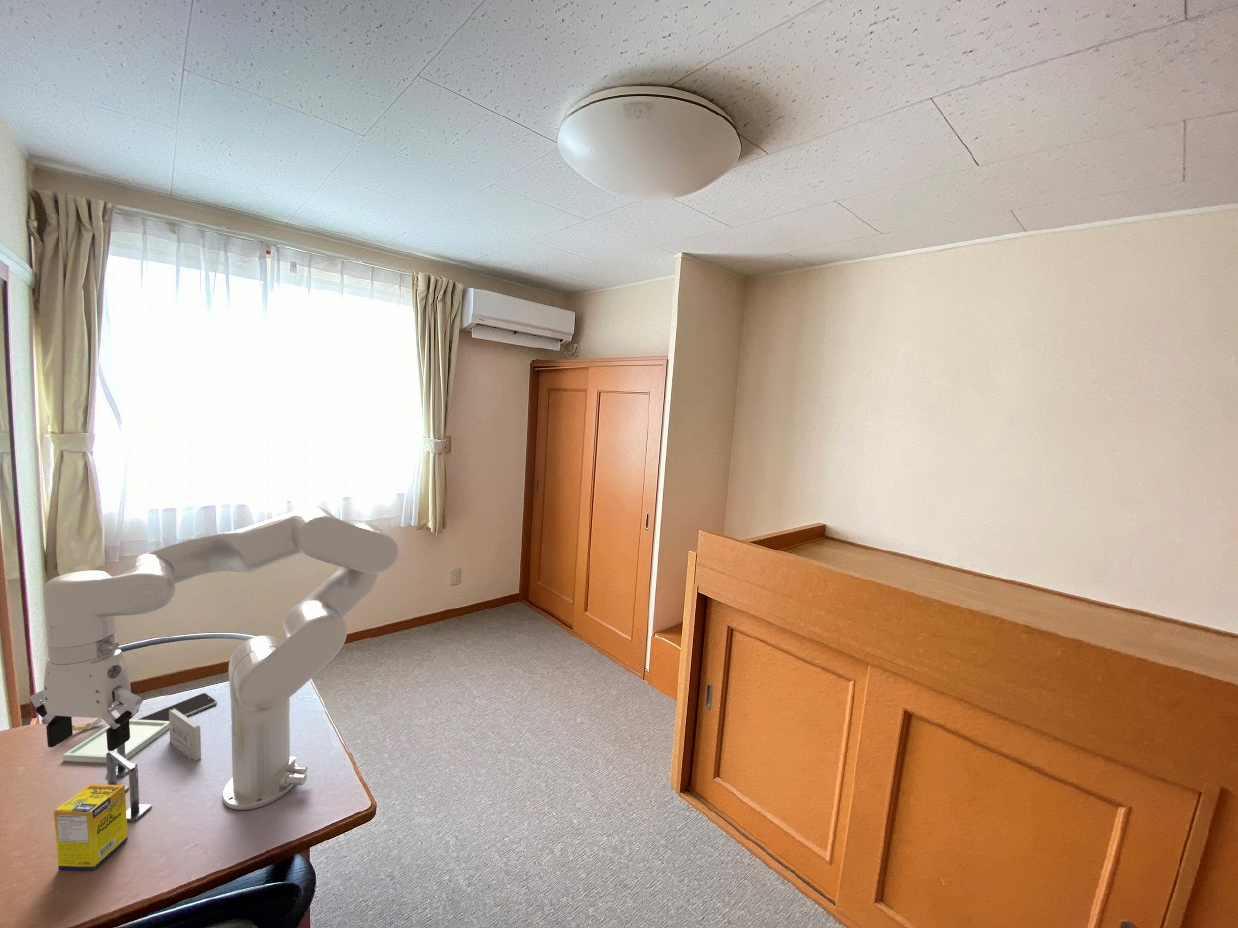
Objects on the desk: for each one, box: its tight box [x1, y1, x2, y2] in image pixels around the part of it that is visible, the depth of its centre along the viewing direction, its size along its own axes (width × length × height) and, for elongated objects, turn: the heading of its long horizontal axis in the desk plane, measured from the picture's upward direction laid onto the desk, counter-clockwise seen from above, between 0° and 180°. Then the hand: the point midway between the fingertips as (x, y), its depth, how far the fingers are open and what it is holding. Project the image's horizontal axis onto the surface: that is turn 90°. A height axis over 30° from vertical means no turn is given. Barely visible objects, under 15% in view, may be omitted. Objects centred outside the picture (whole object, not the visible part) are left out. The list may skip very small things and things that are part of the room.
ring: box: [72, 708, 110, 731], centre depth 113 cm, size 7×3×8 cm, turn 148°
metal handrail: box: [105, 743, 153, 823], centre depth 96 cm, size 20×7×10 cm, turn 52°
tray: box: [62, 718, 170, 765], centre depth 109 cm, size 12×12×1 cm
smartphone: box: [137, 692, 218, 721], centre depth 120 cm, size 7×1×16 cm
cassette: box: [169, 709, 202, 761], centre depth 109 cm, size 12×2×8 cm, turn 63°
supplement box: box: [53, 783, 129, 871], centre depth 83 cm, size 6×6×11 cm
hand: (89, 743), depth 82 cm, fingers open, 9 cm apart
